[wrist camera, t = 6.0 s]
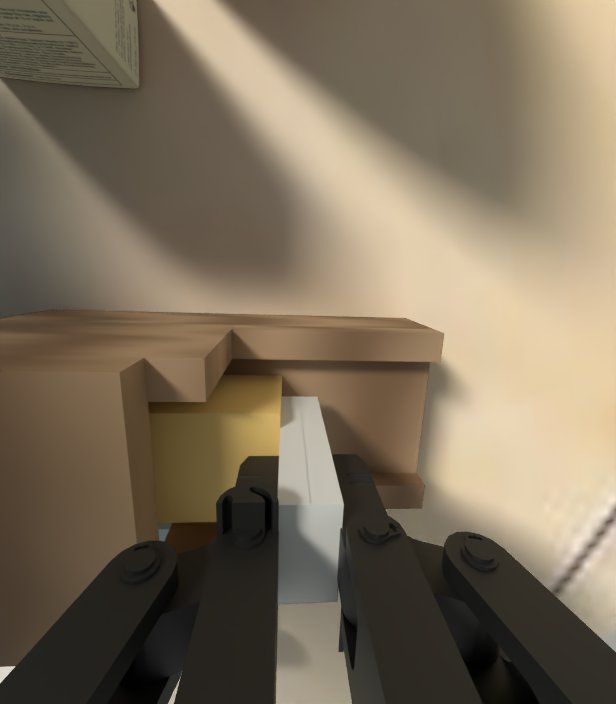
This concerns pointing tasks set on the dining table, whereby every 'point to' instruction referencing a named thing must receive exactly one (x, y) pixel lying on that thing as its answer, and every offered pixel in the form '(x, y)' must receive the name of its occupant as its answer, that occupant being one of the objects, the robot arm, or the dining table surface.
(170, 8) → the dining table surface
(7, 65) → the skincare box
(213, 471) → the yellow block
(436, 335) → the wooden fixture
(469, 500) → the dining table surface
